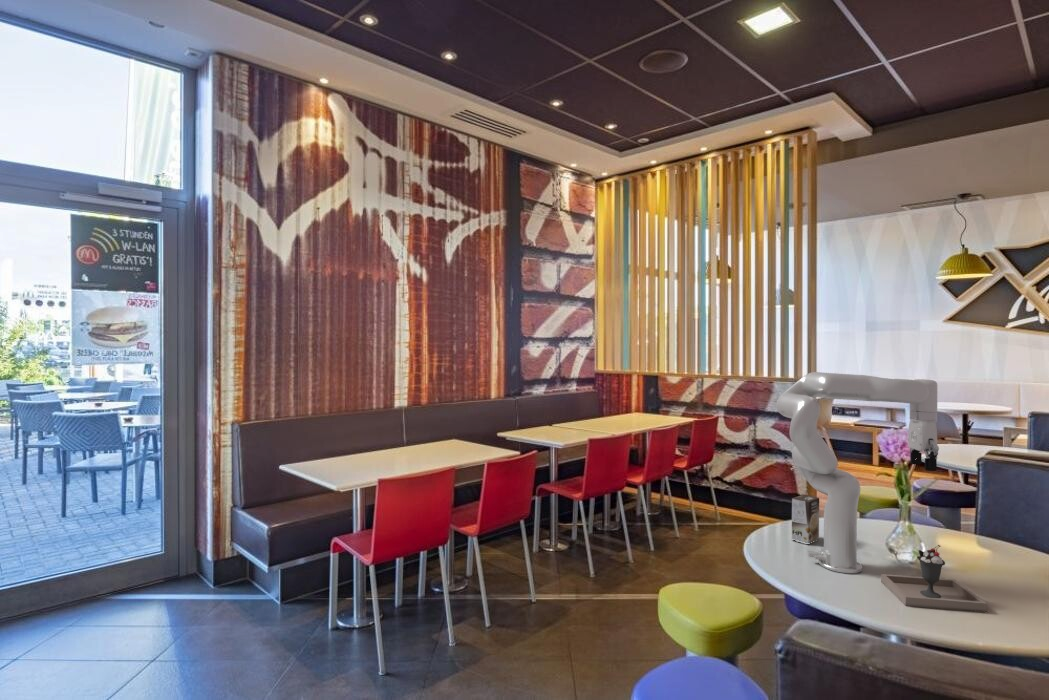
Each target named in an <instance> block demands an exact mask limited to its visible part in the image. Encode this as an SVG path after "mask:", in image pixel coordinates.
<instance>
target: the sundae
mask: <svg viewBox="0 0 1049 700" xmlns="http://www.w3.org/2000/svg"><path fill="white" fill-rule="evenodd" d="M937 547H938V548H940V547H942V546H941V545H940V544H937V546H935V547H934V548H932V547H931V548H930V549H927V550H925V551H923V550H921V549H919V550H918V554H919V555H918V556H916V559H917V560H918V561H919V564H920V570H921V577H923V578H924V579H925V580H926V581H927V582H928V589H927V590H922V591H920V593H921V594H922V595H924V596H926V597H930V598H941V595H940V594H938V593H936V592H934V590H933V584H934V583H936V582H937V581H939V578H940V577H941V573H942V568H943V566H945V565H946V561H945V560H944V559H943V558H942V557H940V552H938V548H937Z"/></svg>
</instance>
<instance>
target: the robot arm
mask: <svg viewBox="0 0 1049 700" xmlns="http://www.w3.org/2000/svg"><path fill="white" fill-rule="evenodd" d="M816 398H822V399H828V400H829V399H831V400H848V401H861V402H862V401H863V402H883V403H885V402H886V403H888V402H889V403H903V404H909V424H908V431H907V433H908V434H907V446H908V447H909V452H910V453H909V454H910V456H909V457H910V458H909V461H910V462H909V463H910V465H918V466H919V465H922V452H923V453H924V455H925V458H924V471H927V472H929V471H931V472H936V471H937V470H938V469H937V467H938V465H937V462H938V461H937V460H938V456H939V449H940V447H939V446H938V431H937V429H938V428H937V424H936V423H937V422H938V383H937V381H935V380H934V379H926V378H925V379H924V378H922V379H920V378H919V379H916V378H915V379H908V378H887V377H878V376H873V375H866V374H852V373H851V374H849V373H848V374H847V373H837V372H835V373H833V372H823V371H822V372H820V371H819V372H818V371H813V372H809V373H807V374H806V375H804V376H802V377H801V378H799V379H798V381H796V382H795V383H794V384H792V385H791V386H790V387H789V388H787V390H785V391H784V392H783V393H781V395H780V396H779V397H778V399H777V401H776V409H777V411H778V413H779V414H780V415H782V417H785V418H787V419H788V418H789V419H790V420H791V421H790V426H789V432H788V433H789V438H790V441H791V443H792V444H793V448H792V451H791V458H792V461H793V463H794V465H795V466H796V468H797V469H798V470H799V472H800V473H801V474H802V476H803V478H805V480H806V481H807V482H808V484H809V485H810V486H811V487H812V488H813V489H814V490H815V491H817V492H819V493H821V494H823V495H826V496H827V499H826V503H825V505H824V508H823V547H821V548H820V550H817V551H812V550H811V551H810V550H807V556H808V558H814V560H818V564H819V565H820V566H821V567H823V568H824V569H828V570H830V571H833V572H836V573H837V572H838V573H843V574H858V573H861V572H862V571H863V566H862V565H863V564H861V563H860V562H859V561H857V560H858V559H857V558H858V557H857V554H858V553H857V552H858V551H857V550H858V548H857V547H858V546H857V545H858V543H857V542H858V540H857V539H858V536H857V535H858V534H857V533H858V521H857V520H858V506H859V505H858V504H859V498H860V495H861V485H860V482H859V480H858V479H857V477H856V476H854V475H853V474H851V473H850V472H847V471H844V470H841V469H839V468H838V459H837V456H836V455H835V453H834V452H833V450H832V449H831V448H830V446H829V445H828V444H827V443H826V441H825V439H823V437H822V436H821V434H820V432H819V431H818V428H817V425H818V424H817V423H818V420H819V418H820V413H821V407H820V406H821V405H820V404H819V401H817V399H816ZM916 458H917V459H916ZM915 459H916V460H915Z"/></svg>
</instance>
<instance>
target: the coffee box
mask: <svg viewBox="0 0 1049 700" xmlns="http://www.w3.org/2000/svg"><path fill="white" fill-rule="evenodd" d="M792 539H795V540H799V541H802V542H805V543H811V542H813V541H815V542H817V541H816V540H818V539H820V497H816V496H813V495H806V494H801V495H798V496H795V497H792V498H791V540H792ZM818 541H819V540H818ZM813 543H814V542H813ZM811 544H812V543H811Z"/></svg>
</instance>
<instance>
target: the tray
mask: <svg viewBox="0 0 1049 700" xmlns="http://www.w3.org/2000/svg"><path fill="white" fill-rule="evenodd" d="M880 582H881V584H882V585H884V586H885V588H887V590H889V592H890V593H892V594H893V595H894V596H895V597H896V598H897V599H898V600H899V601H900V602H901V603H902V604H903V605H904V606H905V607H912V606H913V607H914V608H925V609H926V608H927V609H935V610H936V609H940V610H950V611H951V610H952V611H961V612H962V611H963V612H973V613H974V612H975V613H985V612H987V613H988V603H987V602H986V601H984V600H983V599H982V598H980V597H979V596H977V595H976V594H975V593H973V592H972V591H971V590H970V589H968V588H966V587H965V586H964V585H963V584H961V583H960V582H959V581H957V580H956V579H954V578H939V581H937V582H936V583H934V584H933V590H934V592H936V593H938V594H940V595H941V598H930V597H926V596H924V595H922V594H921V593H920V591H922V590H927V589H928V582H927V581H926V580H925V579H924V578H923V576H915V575H914V576H912V575H900V574H898V575H897V574H896V575H895V574H883V573H881V574H880Z"/></svg>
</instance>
